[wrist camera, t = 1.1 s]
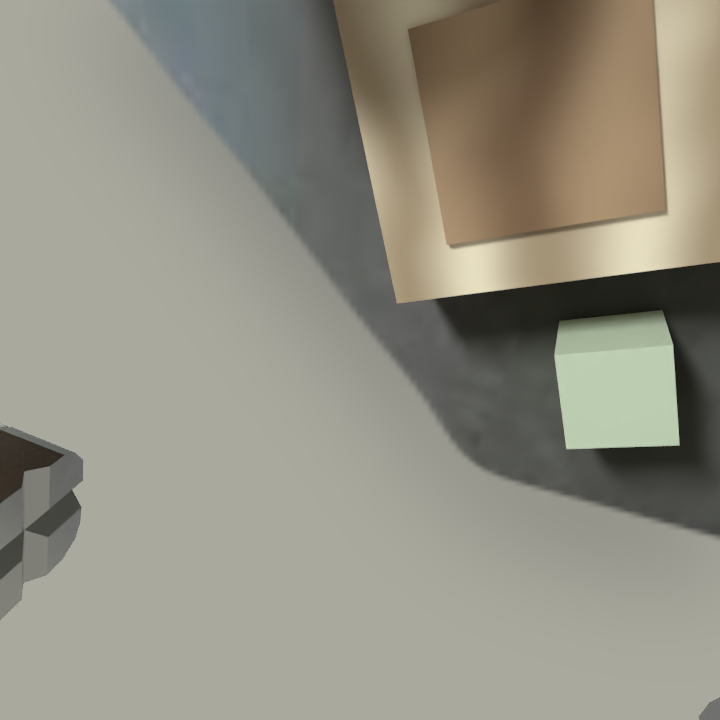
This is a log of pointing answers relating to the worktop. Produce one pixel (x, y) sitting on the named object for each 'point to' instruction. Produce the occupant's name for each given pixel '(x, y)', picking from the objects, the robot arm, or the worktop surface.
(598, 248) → the birch plinth
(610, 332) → the sage block
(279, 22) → the worktop surface
